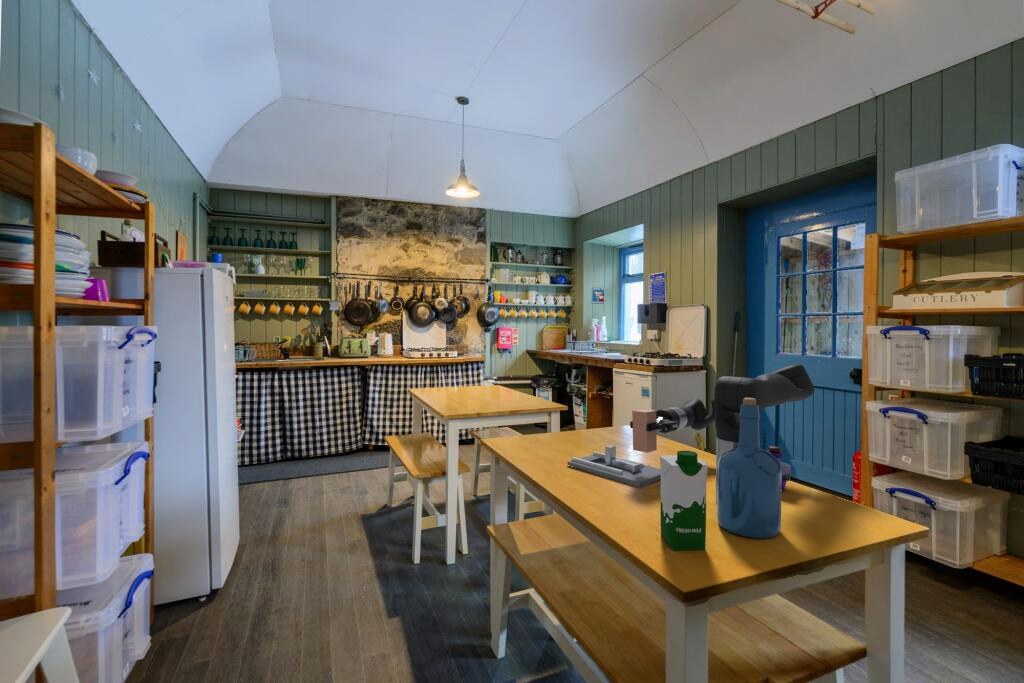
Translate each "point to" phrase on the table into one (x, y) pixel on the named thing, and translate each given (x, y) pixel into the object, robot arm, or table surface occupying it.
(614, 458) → the grey l-shaped rod
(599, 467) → the track
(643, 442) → the block
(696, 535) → the milk carton
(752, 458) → the wine bottle
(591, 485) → the table surface
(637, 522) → the table surface
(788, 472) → the potion bottle
